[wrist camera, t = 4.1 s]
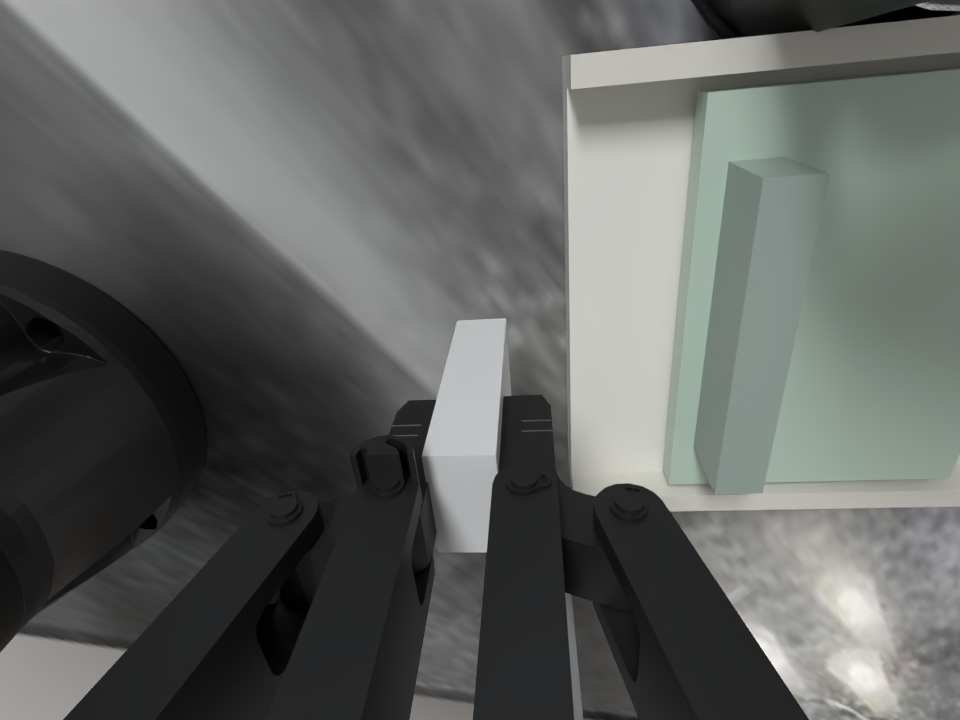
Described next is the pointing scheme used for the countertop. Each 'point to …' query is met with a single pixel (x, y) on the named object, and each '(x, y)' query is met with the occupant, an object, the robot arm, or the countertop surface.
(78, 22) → the countertop surface
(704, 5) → the french press
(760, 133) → the lid
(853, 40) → the housing
